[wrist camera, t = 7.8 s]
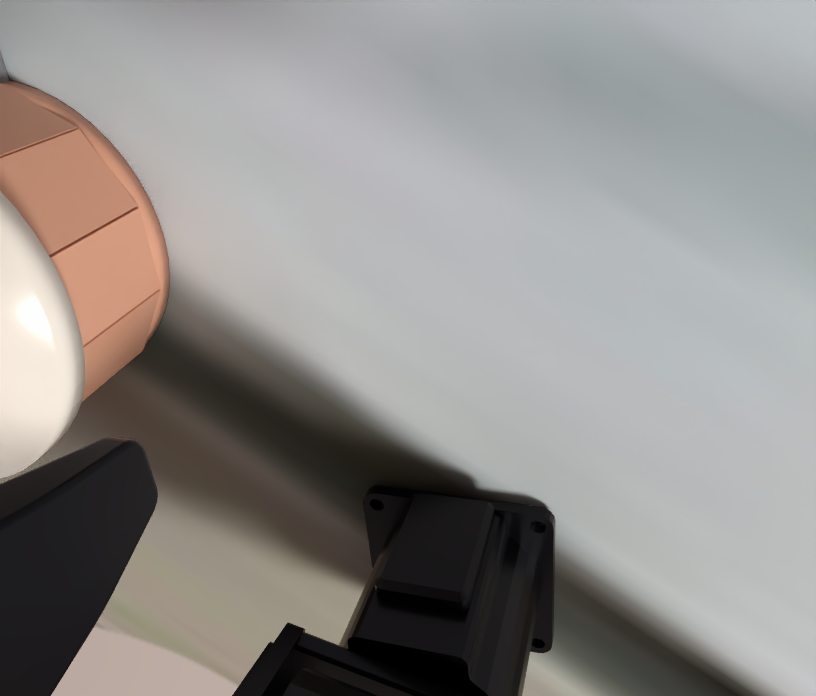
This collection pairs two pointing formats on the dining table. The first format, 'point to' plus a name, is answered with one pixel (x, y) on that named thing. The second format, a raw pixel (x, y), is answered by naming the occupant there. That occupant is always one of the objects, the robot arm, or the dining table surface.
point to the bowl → (86, 224)
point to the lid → (34, 348)
